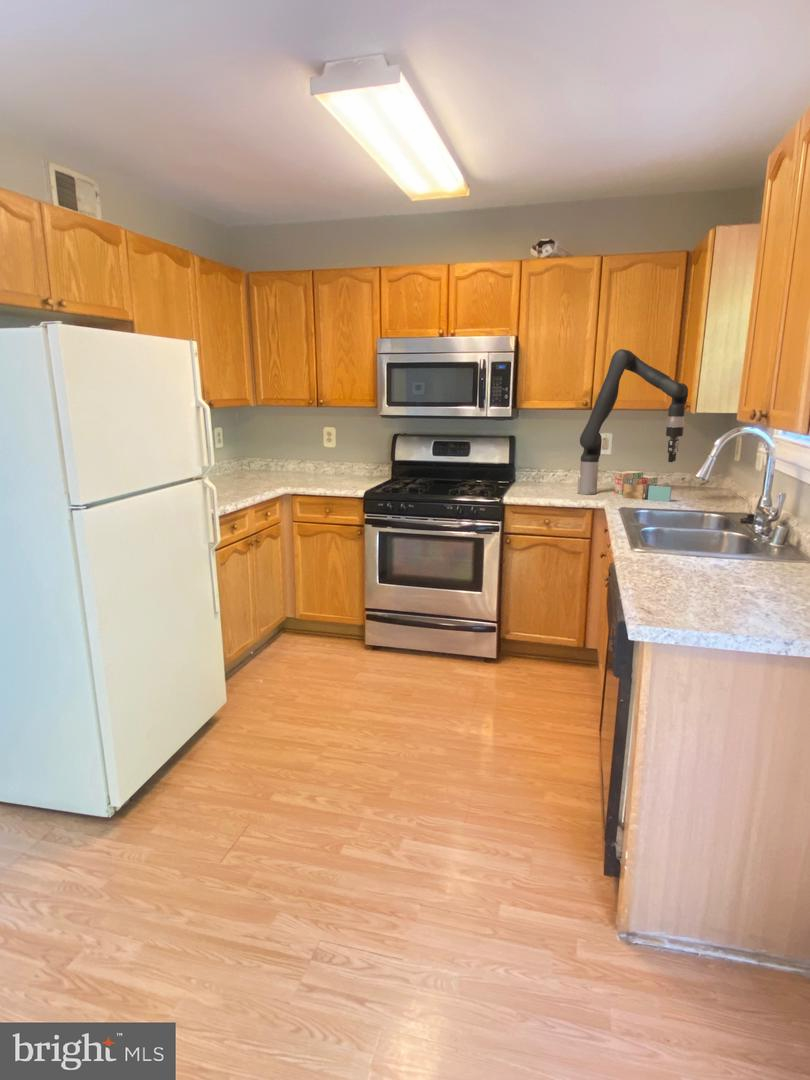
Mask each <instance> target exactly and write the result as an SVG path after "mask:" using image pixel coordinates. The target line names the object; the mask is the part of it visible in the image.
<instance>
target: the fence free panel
mask: <svg viewBox="0 0 810 1080" xmlns="http://www.w3.org/2000/svg"><path fill="white" fill-rule="evenodd" d="M671 497H672V487H671V486H661V485H660V486H659V485H657V486H649V491H648V500H647V501H656V502H668V503H669V502H671V499H672V498H671Z"/></svg>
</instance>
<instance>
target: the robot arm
mask: <svg viewBox="0 0 810 1080" xmlns="http://www.w3.org/2000/svg"><path fill="white" fill-rule="evenodd" d="M625 370H626V371H628V372H631V373H634V374H636V375H637V376H639V377H641V378H642V379H643V380H644V381H645V382H647V383H648V384H650V385H652V386H653V387H655V388H656V389H658V390H661V391H662V392H663V393H664V394H666V395H667V396H669V398H672V399H671V403H670V404H669V406H668V413H667V419H666V420H667V421H666V427H665V428H666V430H665V436H666V437H669V439H668V441H667V444H668V445H667V454H668V457H667V459H668V460H667V462H668V463H674V462H676V460H677V459H676V458H677V453H678V451H679V443H680V439H679V437H683V436H684V427H685V426H684V425H685V412H686V411H685V409H686V403H687V399H688V395H689V388H688V386H687V384H686V383H682V382H680V383H679V382H677V381H675V380H674V379H672V378H671V376H669V375H668V374H666V373H664V372H662V371H661V370H659V369H657V368H654V367H653V366H651V365H649V364H647V363H646V362H644V361H643V360H642V359H640V358H639V357H638V356H637V355H636V354H634V353H633V352H632V351H631V350H628V349H618V350H616V351H615V352H614V353H613V355H612V356H611V359H610V362H609V366H608V370H607V373H606V376H605V378H604V381H603V383H602V385H601V388H600V390H599V392H598V394H597V397H596V400H595V402H594V406H593V408H592V410H591V412H590V415H589V419H588V420H587V421H588V422H587V424H586V425H585V427H584V429H583V431H582V432H581V434H580V436H579V445H580V446H581V447H582V448H583V451H582V454H581V455H580V464H579V465H580V466H579V467H580V468H579V475H578V477H577V478H578V479H577V494H580V495H589V496H591V495H597V491H598V479H599V478H598V477H599V466H600V465H599V463H600V461H599V460H600V456H601V454H602V435H601V433H600V431H601V429H602V426H603V424H604V423H605V421H606V419H607V418H608V417H609V415H610V414H611V412H612V410H613V409H614V407H615V404H616V402H617V399H618V397H619V390H620V381H621V378H622V376H623V373H624V371H625Z"/></svg>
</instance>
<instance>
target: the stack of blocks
mask: <svg viewBox="0 0 810 1080" xmlns="http://www.w3.org/2000/svg"><path fill="white" fill-rule="evenodd" d="M624 484H632V485H644V495H645V489H646V484H649V486H658V476H651V475H646V476H645V475H644V472H643V471H638V470H632V471H631V470H630V471H616V472H615V482H614V485H615V486H614V494H616V495H619V496H620V495H621V496H623V489H624ZM648 491H649V490H648Z"/></svg>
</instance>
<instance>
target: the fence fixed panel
mask: <svg viewBox="0 0 810 1080" xmlns="http://www.w3.org/2000/svg"><path fill="white" fill-rule="evenodd" d="M648 490H649V484H646V489H645V494H644V485H632V484H624V489H623V495H622V498H623V499H631V500H633V499H634V500H646V501H649V500H648Z"/></svg>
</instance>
